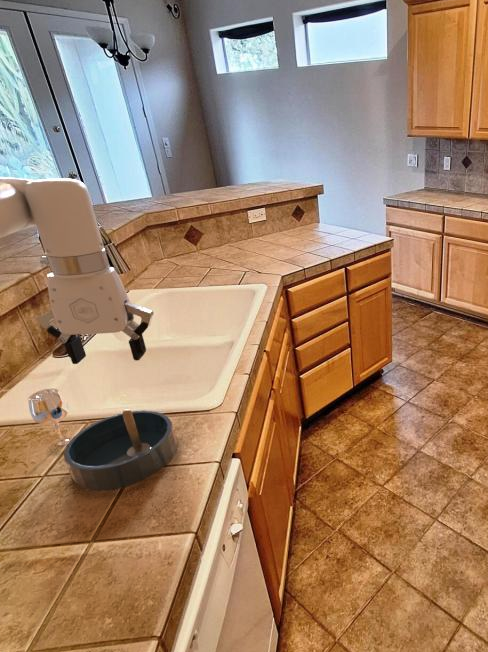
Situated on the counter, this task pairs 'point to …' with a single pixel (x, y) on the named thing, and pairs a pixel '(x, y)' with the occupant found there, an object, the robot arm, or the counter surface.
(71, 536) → the counter surface
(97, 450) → the bowl
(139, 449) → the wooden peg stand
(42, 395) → the wineglass
